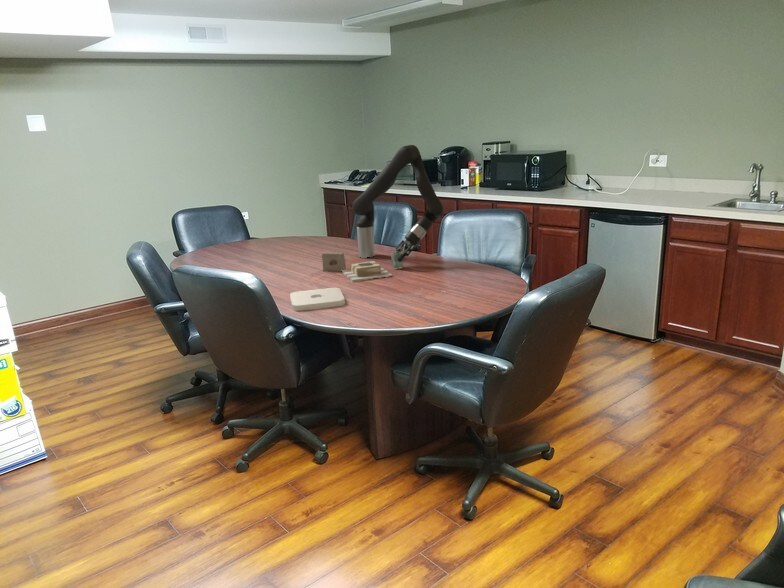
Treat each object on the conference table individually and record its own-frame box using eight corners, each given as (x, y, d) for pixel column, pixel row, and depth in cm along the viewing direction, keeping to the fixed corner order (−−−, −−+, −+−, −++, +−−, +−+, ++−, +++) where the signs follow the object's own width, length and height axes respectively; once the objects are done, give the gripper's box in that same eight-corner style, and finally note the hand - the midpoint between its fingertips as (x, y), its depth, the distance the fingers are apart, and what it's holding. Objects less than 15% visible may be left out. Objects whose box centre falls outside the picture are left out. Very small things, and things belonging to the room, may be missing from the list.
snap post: (392, 267, 300) (391, 251, 298) (400, 266, 301) (399, 250, 299) (394, 269, 296) (393, 252, 294) (402, 268, 297) (402, 251, 295)
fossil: (322, 271, 302) (321, 253, 299) (325, 269, 305) (324, 251, 303) (343, 271, 298) (342, 253, 295) (346, 270, 301) (345, 252, 298)
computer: (290, 298, 258) (289, 292, 257) (339, 292, 262) (338, 286, 261) (293, 312, 237) (292, 306, 236) (346, 306, 241) (345, 300, 240)
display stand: (341, 272, 297) (340, 262, 296) (378, 267, 303) (378, 257, 301) (352, 282, 277) (351, 271, 275) (392, 276, 283) (391, 266, 281)
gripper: (405, 228, 302) (386, 252, 302) (415, 232, 289) (395, 257, 289) (415, 237, 305) (396, 260, 305) (425, 241, 292) (405, 266, 292)
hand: (395, 259), depth 297 cm, fingers open, 8 cm apart
